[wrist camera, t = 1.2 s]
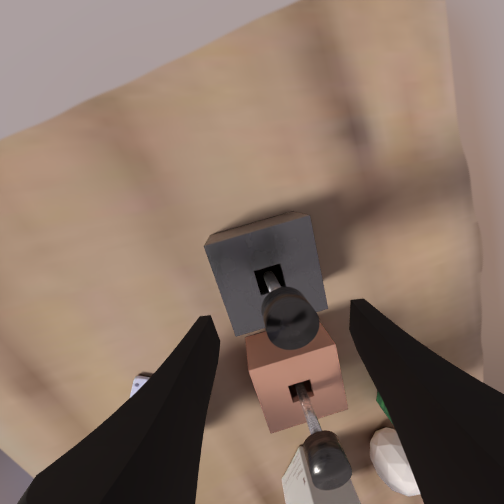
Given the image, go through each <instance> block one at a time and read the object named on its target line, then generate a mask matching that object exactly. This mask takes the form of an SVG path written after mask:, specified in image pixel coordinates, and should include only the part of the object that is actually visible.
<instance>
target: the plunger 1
mask: <svg viewBox="0 0 504 504" xmlns="http://www.w3.org/2000/svg"><path fill="white" fill-rule="evenodd" d="M263 277H264V280H265V282H266V285H267V287H268V290H269V292H270V293H269V294H268V295H267V296H266V297H265V299H264V300H263V303H262V307H261V313H262V317H263V321H264V324H265V328H266V332H267V336H268V338H269V340H270V341H271V342H272V343H273V344H274V345H275V346H277V347H279V348H281V349H285V350H295V349H299V348H302V347H304V346H306V345H307V344H309V343H310V342H311V341H312V340H313V339H314V338H315V336H316V335H317V332H318V330H319V317H318V315H317V313H316V311H315V310H314V309H313V307H312V306H311V305H310V303H309V302H308V300H307V299H306V298H305V296H304V295H303V294H302V293H301V292H300V291H299V290H297V289H295V288H292V287H281V286H280V284H279V282H278V280H277V279H276V277H275V275H274V273H273V272H271V271H267V272H265V274H264V276H263Z"/></svg>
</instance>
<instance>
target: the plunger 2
mask: <svg viewBox="0 0 504 504" xmlns="http://www.w3.org/2000/svg"><path fill="white" fill-rule="evenodd" d="M295 388H296V391H297V394H298V397H299V400H300V403H301V406H302V409H303V412H304V415H305V418H306V421H307V424H308V427H309V430H310V433H311V435H310V436H309V437H308V438H307V439H306V440H305V442H304V444H303V451H304V454H305V458H306V461H307V465H308V468H309V472H310V475H311V479H312V482H313V484H314V486H315V487H316V488H318V489H320V490H333V489H337V488H339V487H341V486H343V485H344V484H345V483H347V482H348V480H349V479H350V478H351V475H352V469H351V466H350V464H349V462H348V460H347V457H346V455H345V453H344V451H343V448H342V446H341V444H340V442H339V439H338V437H337V435H336V434H335V433H333V432H331V431H322V430H321V427H320V424H319V422H318V419H317V417H316V414H315V412H314V409H313V406H312V404H311V401H310V399H309V396H308V394H307V391H306V388H305V386H304V383H303V382H299V383H296V384H295Z"/></svg>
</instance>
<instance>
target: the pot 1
mask: <svg viewBox="0 0 504 504" xmlns="http://www.w3.org/2000/svg"><path fill="white" fill-rule="evenodd" d="M204 248H205V251H206V254H207V257H208V259H209V262H210V265H211V268H212V271H213V274H214V276H215V279H216V282H217V285H218V288H219V290H220V293H221V296H222V299H223V302H224V305H225V307H226V310H227V313H228V316H229V319H230V322H231V324H232V327H233V330H234V333H235V336H240V335H243V334H246V333H250V332H253V331H256V330H259V329H263V328H265V324H264V321H263V317H262V313H261V307H262V303H263V300H264V299H265V297H266V296H267V295H268V294H269V293H270V292H269V290H267V291H264V292H260V291H259V287H258V284H257V281H256V277H255V274H254V271H256V270H260V269H263V268H266V267H270V266H273V265H276V264H280V267H281V271H282V275H283V279H284V283H285V285H283V286H281V287H292V288H295V289H297V290H299V291H300V292H301V293H302V294H303V295H304V296H305V298H306V299H307V300H308V302H309V303H310V305H311V306H312V307H313V309H314V310H315V311H316V312H319V311H322V310H325V309H328V305H327V300H326V295H325V290H324V285H323V280H322V275H321V270H320V264H319V259H318V254H317V249H316V244H315V239H314V234H313V229H312V223H311V218H310V215H307V214H303V213H298V212H293V211H292V212H288V213H285V214H281V215H278V216H274V217H271V218H268V219H264V220H261V221H257V222H254V223H251V224H247V225H244V226H240V227H237V228H233V229H230V230H227V231H223V232H220V233H216V234H213V235H210V236H209V238H208V240H207V241H206V243H205V245H204Z"/></svg>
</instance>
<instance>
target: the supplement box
mask: <svg viewBox="0 0 504 504" xmlns="http://www.w3.org/2000/svg"><path fill="white" fill-rule="evenodd" d="M282 484H283V490H284V496H285V502H286V504H361V503H360V500H359V498H358V496H357V493H356V491H355V489H354V486H353V484H352V481H351V479H349V480H348V482H347V483H345V484H344V485H343V486H341V487H339V488H337V489H333V490H320V489H318V488H316V487H315V486H314V484H313V482H312V479H311V475H310V472H309V468H308V465H307V461H306V458H305V454H304V451H303V447H302V446H299V448H298V450H297V452H296V454H295V456H294V458H293V460H292V462H291V464H290V465H289V467H288V469H287V471H286V473H285V474H284V476H283V477H282Z"/></svg>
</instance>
